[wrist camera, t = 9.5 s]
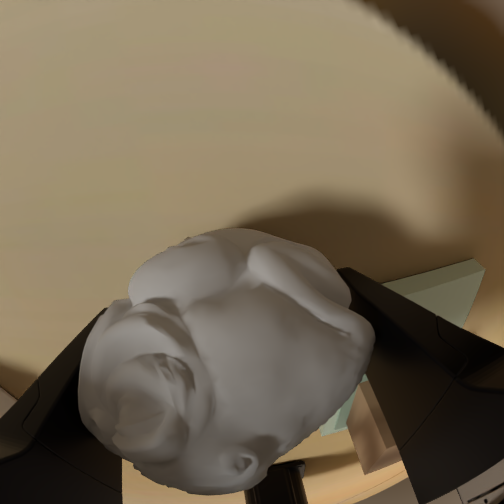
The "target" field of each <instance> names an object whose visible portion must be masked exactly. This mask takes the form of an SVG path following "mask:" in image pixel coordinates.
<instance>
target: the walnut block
mask: <svg viewBox="0 0 504 504" xmlns="http://www.w3.org/2000/svg"><path fill="white" fill-rule="evenodd" d="M346 424H347V427H348V430H349V433H350V435H351V438H352V441H353V444H354V446H355V449H356V452H357V455H358V458H359V460H360V463H361V466H362V469H363V472H364V475H366V474H369V473H371V472H374V471H377V470H379V469H382V468H384V467H387V466H389V465H392V464H394V463H396V462H399V461H401V460H402V458H401V456H400V453H399V450H398V448H397V446H396V443H395V441H394V438H393V436H392V434H391V431H390V429H389V426H388V424H387V422H386V419H385V417H384V415H383V412H382V410H381V408H380V405H379V403H378V401H377V399H376V396H375V394H374V392H373V390H372V387H371V385H370V383H369V381H365V382H361V383H359V384H358V387H357V390H356V393H355V397H354V400H353V403H352V406H351V409H350V412H349V415H348V418H347V421H346Z"/></svg>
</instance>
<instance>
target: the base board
mask: <svg viewBox="0 0 504 504" xmlns="http://www.w3.org/2000/svg"><path fill="white" fill-rule="evenodd" d="M485 270H486V269H485V268H484V267H483V266H482V265H480V264H479V263H478V262H477V261H476V260H475V259H474V258H473V259H470V260H467V261H463V262H460V263H457V264H453V265H450V266H446V267H443V268H439V269H436V270H432V271H429V272H425V273H421V274H418V275H414V276H410V277H406V278H403V279H399V280H395V281H391V282H387V283H383V284H382V285H383V286H385V287H387V288H389V289H391V290H393V291H395V292H396V293H398V294H400V295H402V296H404V297H406V298H408V299H409V300H411V301H413V302H415V303H417V304H418V305H420V306H422V307H424V308H426V309H427V310H429V311H431V312H433V313H435V314H436V316H437V315H438V316H440V317H442V318H444V319H446V320H447V321H449V322H451V323H453V324H455V325H457V326H459V327H460V328H462V327H463V325H464V323H465V321H466V318H467V316H468V314H469V312H470V309H471V307H472V304H473V302H474V300H475V297H476V294H477V292H478V289H479V287H480V284H481V281H482V278H483V276H484V273H485ZM365 381H368V379H367V376H366V374H364V375H363V378H362V381H361V382H365ZM361 382H360V383H361ZM357 387H358V386H357ZM357 387H356V389H355V391H354V392H353V394H352V395H351V396H350V398H349V400H347V401H346V402H345V403H344V404H343V406H342V407H341V408H340V409H338V410H337V412H336V413H335V415H333V416H332V417H331V418H329V419H328V421H327V422H326V424H324V425H321V426H320V427H319V429H320V433H321V436H325V435H328V434H332V433H335V432H339V431H342V430H346V429H348V427H347V424H346V421H347V418H348V415H349V412H350V409H351V406H352V403H353V400H354V397H355V393H356V390H357Z"/></svg>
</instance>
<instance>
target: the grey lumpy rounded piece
mask: <svg viewBox="0 0 504 504" xmlns="http://www.w3.org/2000/svg"><path fill="white" fill-rule="evenodd" d="M128 294H129V299H121V300H115V301H113V303H112V304H111V305H110V306H109V308H108V309H107V310H106V312H105V313H104V315H100V317H99V318H98V320H97V322H96V324H95V325H94V327H93V329H92V331H91V332H90V334H89V336H88V338H87V341H86V344H85V347H84V350H83V354H82V359H81V365H80V371H79V385H78V406H79V412H80V416H81V420H82V423H83V424H84V425H85V426H86V428H87V429H88V430H89V431H90V432H91V433H92V434H93V435H94V436H96V438H97V439H98V440H99V441H100V442H101V443H103V445H104V446H105V448H106V449H108V450H109V451H111V452H113V453H114V454H116V455H119V456H120V457H121V458H123V459H125V460H127V461H129V462H132V463H133V466H134V469H137V470H139V471H140V472H141V474H142V475H143V476H145V477H147V478H148V479H150V480H152V481H154V482H156V483H158V484H161V485H166V486H167V487H173V488H177V489H179V490H182V491H186V492H187V493H189V494H197V495H222V494H229V493H235V492H239V491H243V490H248V489H251V488H253V487H254V486H255V485H256V484H258V483H259V482H260V481H262V480H263V479H264V478H265V477H266V476H267V470H268V468H269V467H270V466H271V465H272V464H273V463H274V462H275V461H276V460H277V459H278V458H279V457H281V456H283V455H285V454H286V453H287V452H288V451H290V450H291V449H293V448H294V447H295V446H297V445H298V444H300V443H301V442H302V441H303V440H304V439H305V438H308V437H309V436H310V434H311V433H312V432H314V431H316V430H317V429H318V428H319V427H320V426H321V425H324V424H326V422H327V421H328V419H329V418H331V417H332V416H333V415H335V413H336V412H337V410H338V409H340V408H341V407H342V406H343V404H344V403H345V402H346V401H347V400H349V398H350V396H351V395H352V394H353V392H354V391H355V389H356V387H357V386H358V384H359V383H360V382H361V381H362V378H363V375H364V374H365V373H366V371H367V367H368V365H369V363H370V360H371V355H372V351H373V347H374V343H375V341H376V340H375V338H376V337H375V332H374V330H373V328H372V326H371V324H370V322H368V321H367V320H366V319H365V318H364V317H362V316H360V315H359V314H357V313H355V312H353V311H351V310H349V309H348V308H349V306H350V303H351V300H352V299H351V294H350V289H349V287H348V286H347V285H346V283H345V282H344V281H343V280H342V278H341V277H340V275H339V274H338V272H337V271H336V270H335V268H334V267H333V266H332V265H331V263H330V262H329V261H328V259H327V258H326V257H325V256H324V255H323V254H322V253H321V252H319V251H318V250H316V249H315V248H312V247H310V246H307V245H303V244H299V243H295V242H292V241H289V240H286V239H282V238H279V237H276V236H273V235H271V234H268V233H265V232H261V231H258V230H253V229H245V228H226V229H219V230H215V231H210V232H206V233H204V234H200V235H197V236H195V237H193V238H191V237H187V238H186V239H185V240H184V241H183V242H181V243H180V244H178V245H177V246H171V247H168V248H167V249H166V251H163V252H161V253H159V254H157V255H155V256H154V257H152V258H151V259H149V260H147V261H146V262H145V263H144V264H143V265H142V266H140V267H139V268H138V269H137V270H136V272H135V273H134V275H133V276H132V278H131V280H130V283H129V287H128Z"/></svg>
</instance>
